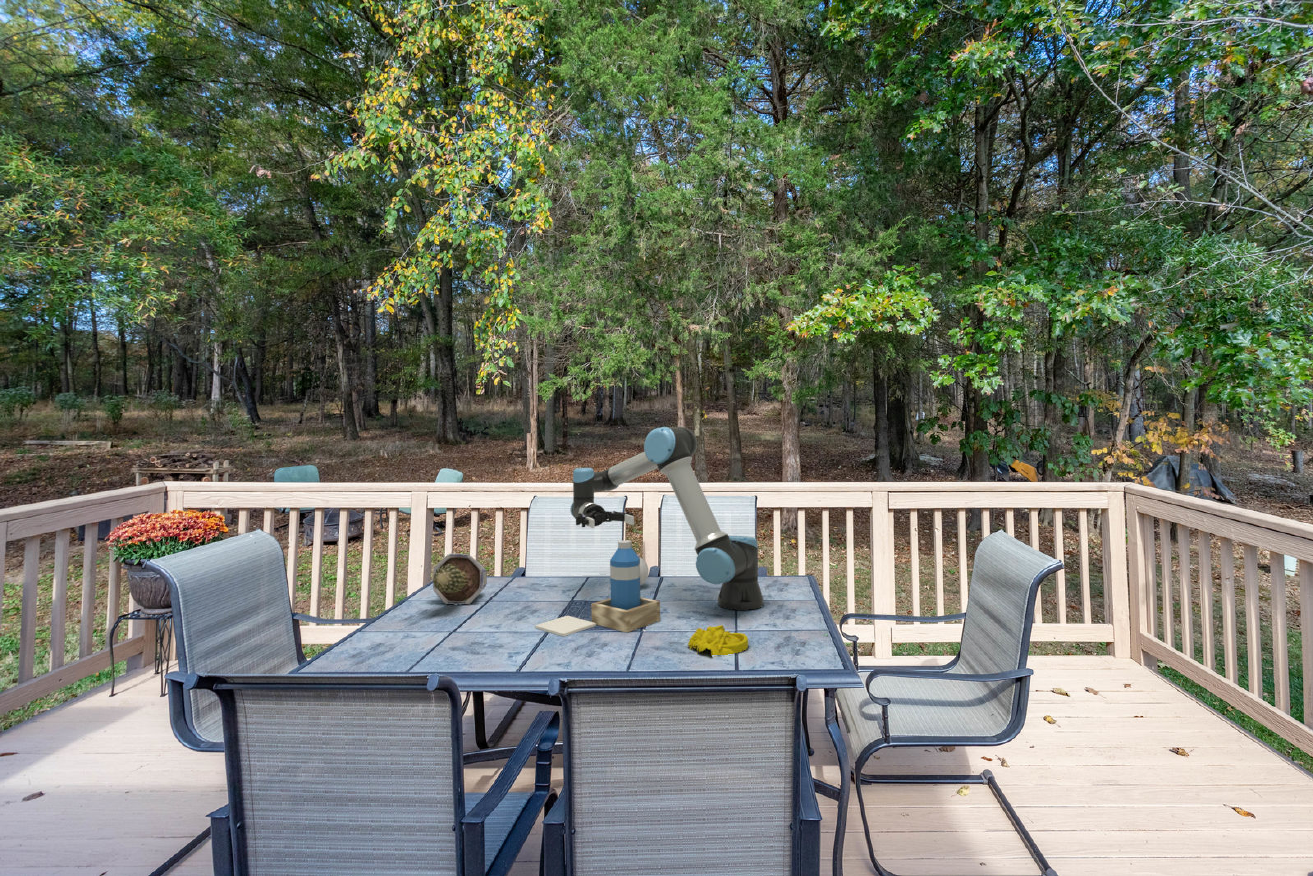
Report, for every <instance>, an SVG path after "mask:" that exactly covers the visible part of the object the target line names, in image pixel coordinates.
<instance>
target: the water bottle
mask: <svg viewBox="0 0 1313 876" xmlns="http://www.w3.org/2000/svg"><path fill="white" fill-rule="evenodd" d="M617 542H618V543H617V549H616V550H615V552H614V554H613V555H612V556H611V558H610V559H609V572H610V573H609V574H610V578H609V579H610V580H609V581H610V598H611V607H615V608H619V609H623V610H629V609H632V608H635V607H638V606H641V597H642V596H641V586H640V558H639V557H640V556H639V555H638V554H637V552H636V551H635V550H634V549H633V547H632V540H629V539H626V540H624V539H623V540H619V541H617Z"/></svg>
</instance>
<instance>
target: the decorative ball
mask: <svg viewBox="0 0 1313 876" xmlns="http://www.w3.org/2000/svg"><path fill="white" fill-rule="evenodd" d="M639 558H640V587H641V586H642V585H644V583H645V582H646V581H647V579H648V576H649V567H648V563H647V561H646V560H645V559H643V558H642V557H640V556H639Z"/></svg>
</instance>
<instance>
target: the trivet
mask: <svg viewBox="0 0 1313 876" xmlns="http://www.w3.org/2000/svg"><path fill="white" fill-rule="evenodd" d="M596 626H597V624H596V623H593V622H592V621H589V620H585V619H581V618H578V617H575V616H570V615H565V616H561V617H559V618H555V619H552V620H549V621H545V622H542V623H538V624H535V625H534V629H536V628H538V629H537V630H540V631H544V632H547V633H549V634H553V635H557V636H560V637H566V636H570V635H572V634H573V635H574V634H576V633H579V632H582V631H584V630H588V629H591V628H594V627H596Z"/></svg>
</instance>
